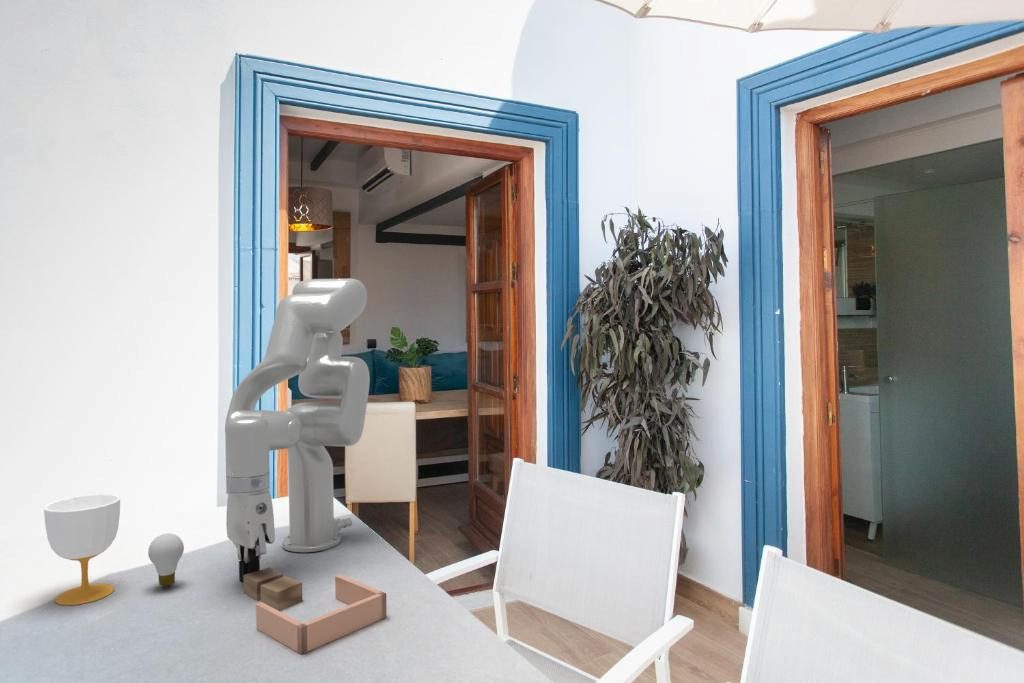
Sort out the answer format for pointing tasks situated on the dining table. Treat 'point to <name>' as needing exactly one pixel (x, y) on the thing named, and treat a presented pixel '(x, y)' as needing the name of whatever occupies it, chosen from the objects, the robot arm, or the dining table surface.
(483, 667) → the dining table surface
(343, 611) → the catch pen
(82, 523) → the cup
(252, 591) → the walnut tile
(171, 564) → the light bulb
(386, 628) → the dining table surface
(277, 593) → the walnut tile
